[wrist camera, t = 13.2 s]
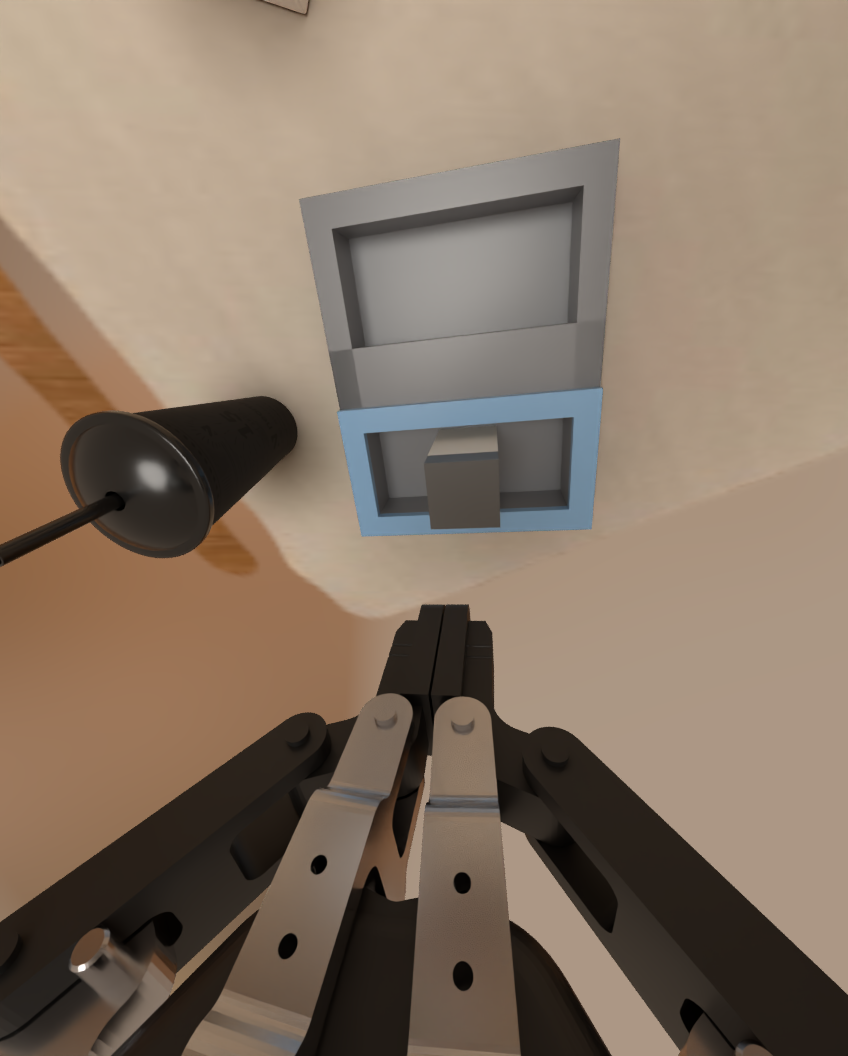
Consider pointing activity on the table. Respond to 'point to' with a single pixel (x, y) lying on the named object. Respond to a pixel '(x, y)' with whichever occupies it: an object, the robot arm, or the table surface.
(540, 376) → the divided storage tray
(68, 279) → the table surface
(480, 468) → the gray rectangular block
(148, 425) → the drinking cup
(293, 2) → the milk carton
